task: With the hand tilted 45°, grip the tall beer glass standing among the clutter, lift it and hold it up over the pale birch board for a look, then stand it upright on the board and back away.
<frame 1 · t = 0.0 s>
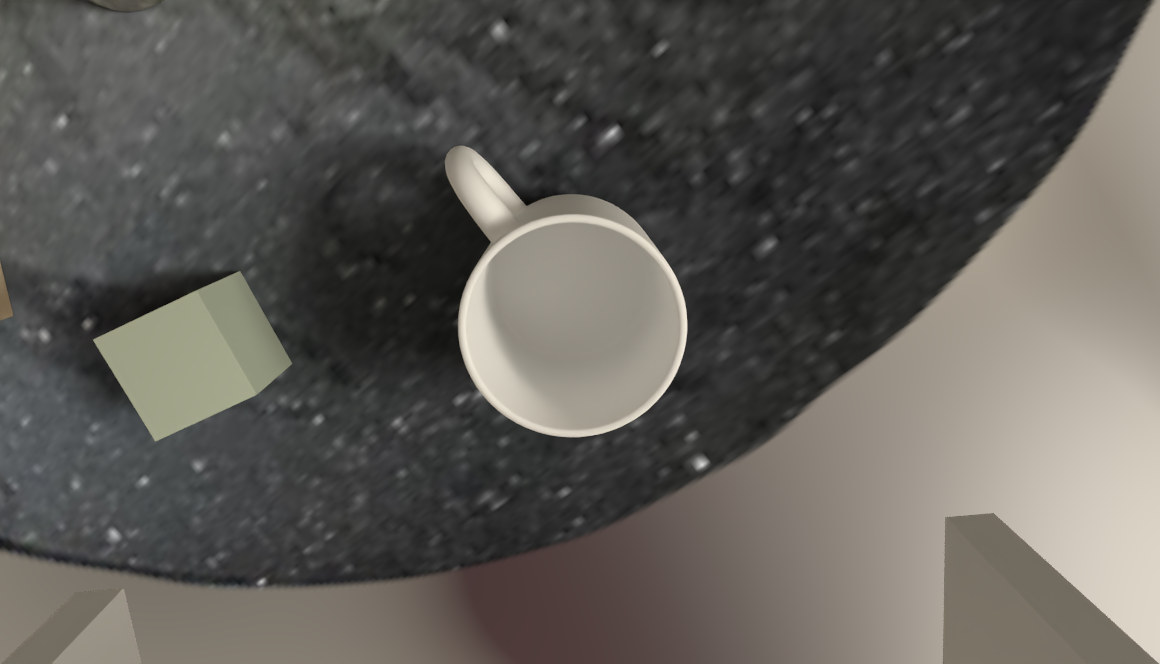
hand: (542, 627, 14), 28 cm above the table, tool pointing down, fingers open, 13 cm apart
cup: (547, 248, 41), on the table
sage block: (221, 339, 41), on the table
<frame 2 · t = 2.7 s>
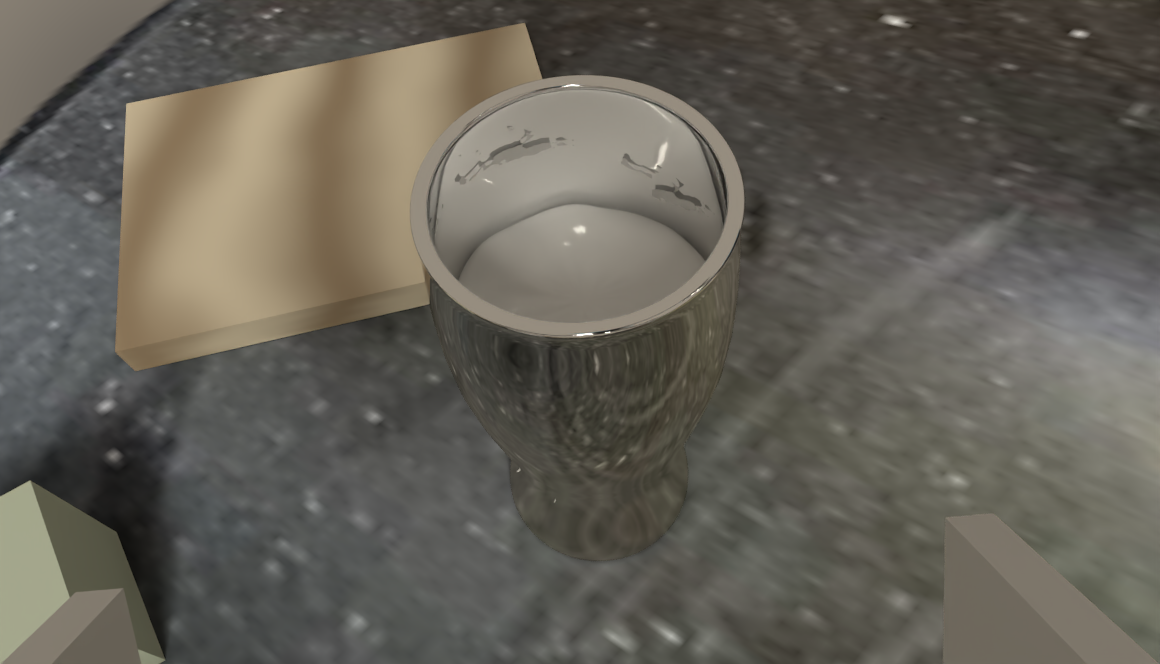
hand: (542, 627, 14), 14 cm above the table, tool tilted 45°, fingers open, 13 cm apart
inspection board: (353, 192, 37), on the table
sage block: (66, 638, 28), on the table
beer glass: (599, 477, 30), on the table
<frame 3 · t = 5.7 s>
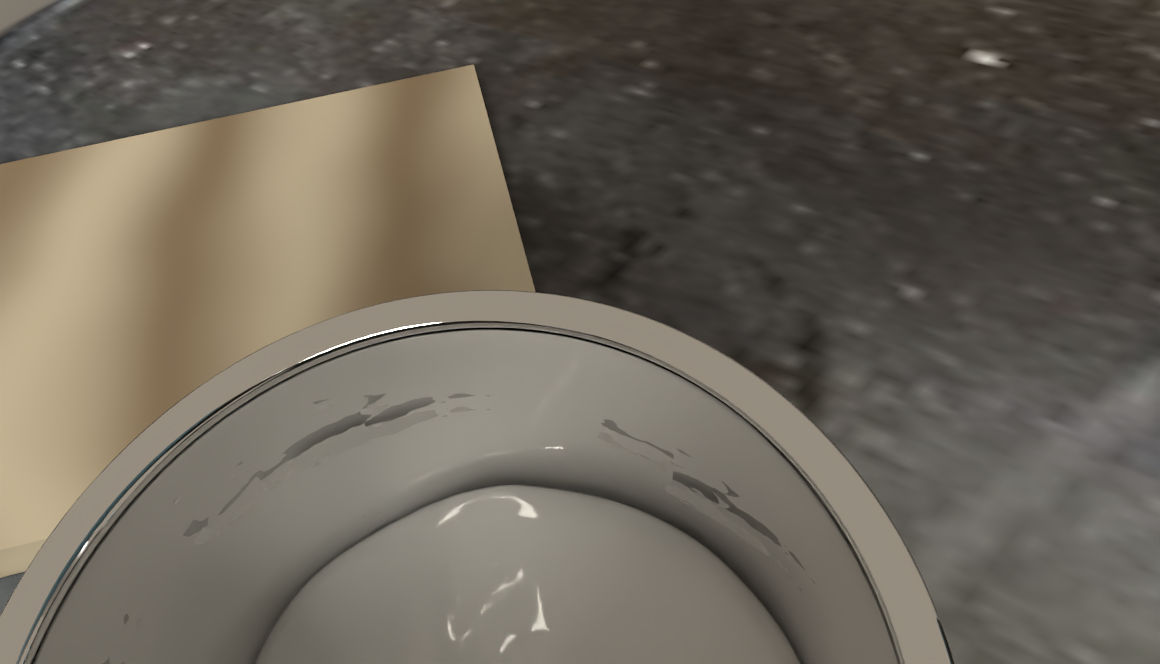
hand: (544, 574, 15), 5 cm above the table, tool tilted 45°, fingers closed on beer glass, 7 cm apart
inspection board: (222, 313, 25), on the table
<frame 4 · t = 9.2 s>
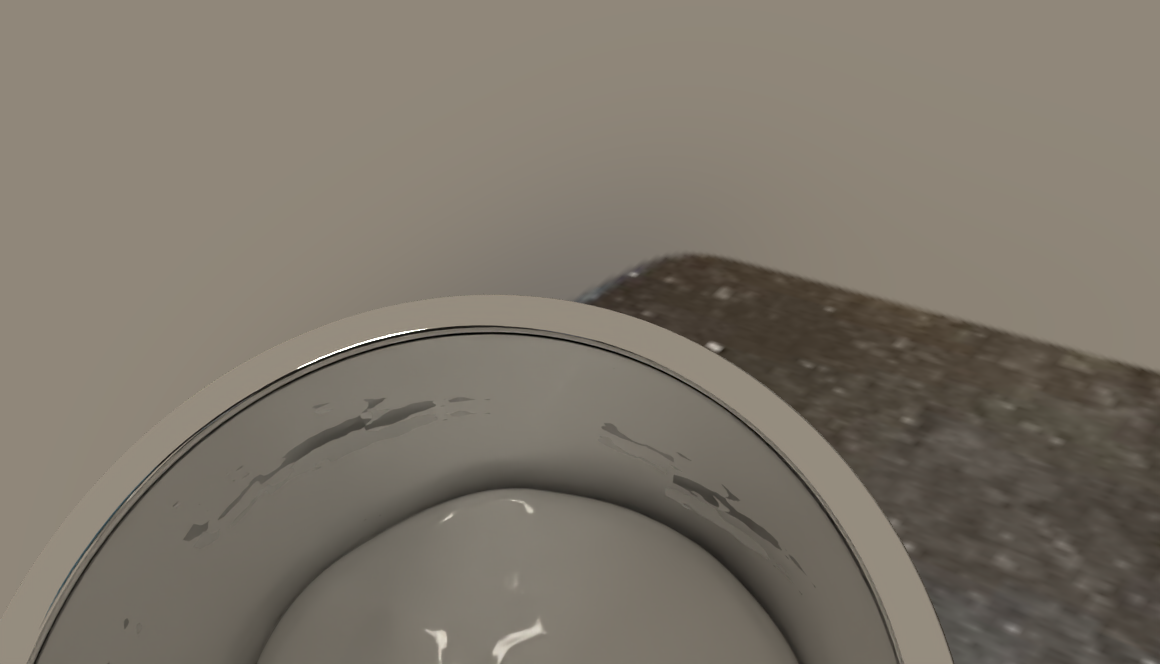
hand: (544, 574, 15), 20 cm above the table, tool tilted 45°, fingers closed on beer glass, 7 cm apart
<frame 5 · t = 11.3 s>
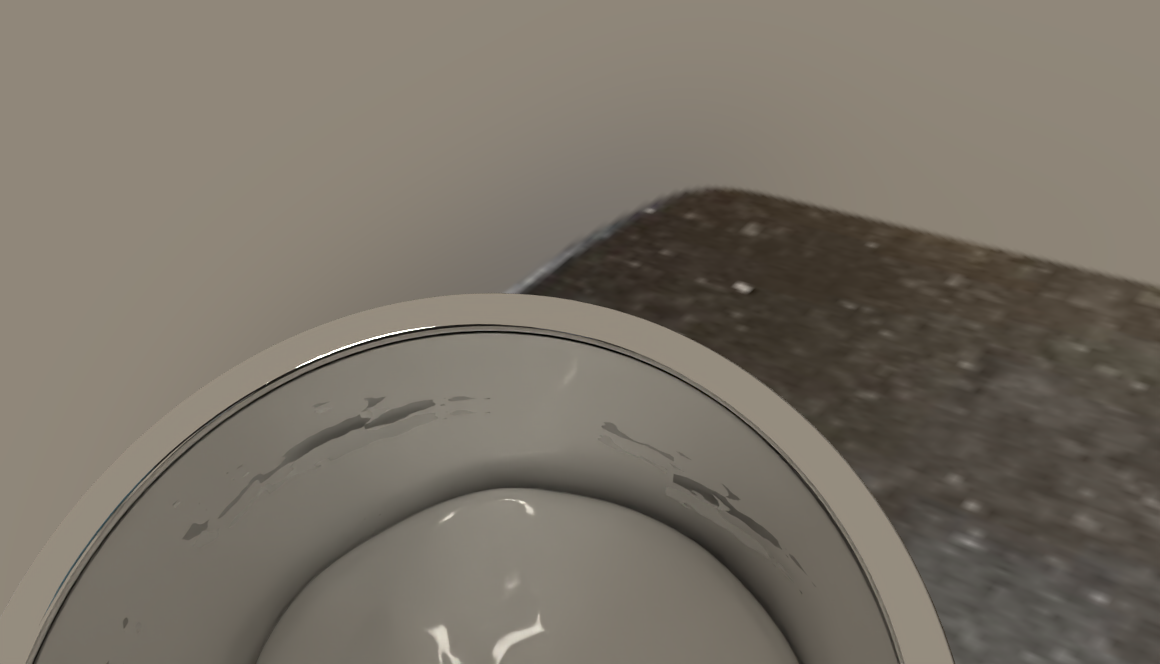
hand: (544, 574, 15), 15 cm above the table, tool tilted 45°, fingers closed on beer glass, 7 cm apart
when the fingers open (8 cm above the table, at t = 12.8 s): beer glass drops 1 cm, resting on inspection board.
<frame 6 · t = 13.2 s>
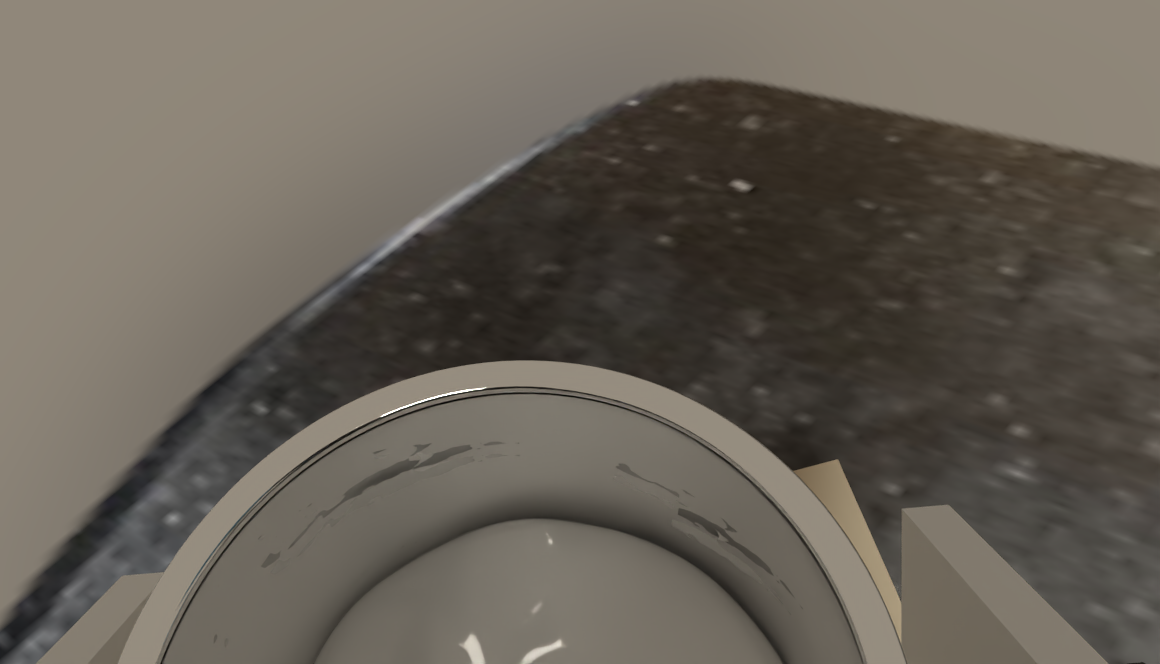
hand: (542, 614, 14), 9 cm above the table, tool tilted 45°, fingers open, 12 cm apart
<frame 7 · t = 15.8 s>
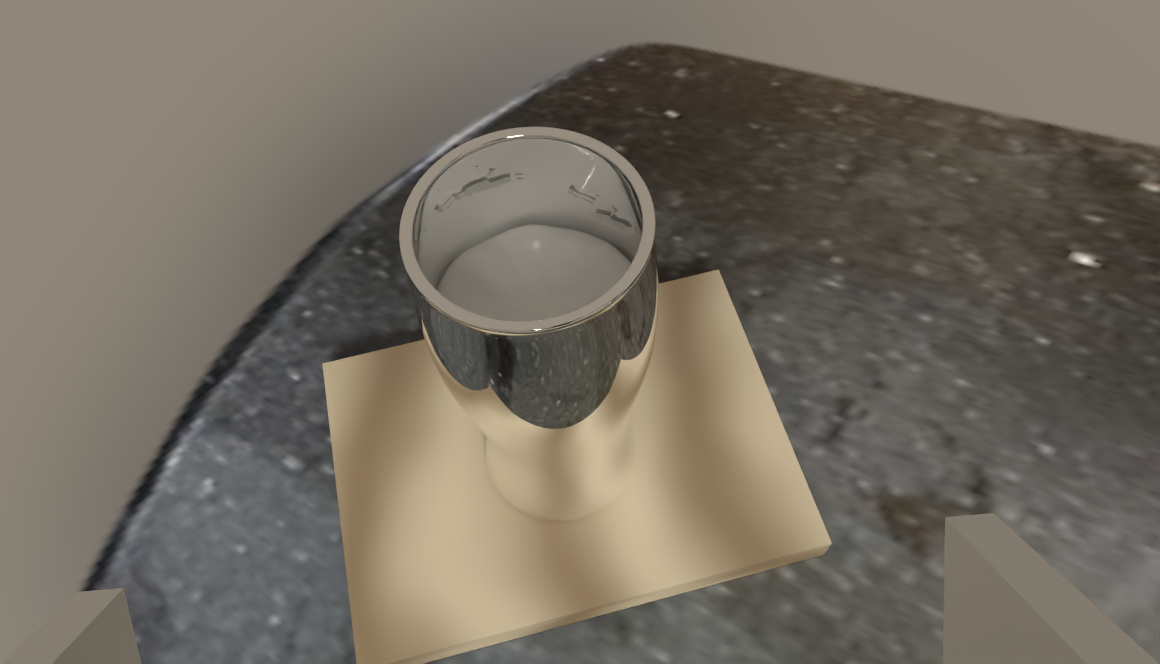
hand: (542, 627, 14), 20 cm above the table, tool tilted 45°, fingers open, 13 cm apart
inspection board: (561, 461, 36), on the table
beer glass: (561, 451, 35), point 1 cm above the table, touching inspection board
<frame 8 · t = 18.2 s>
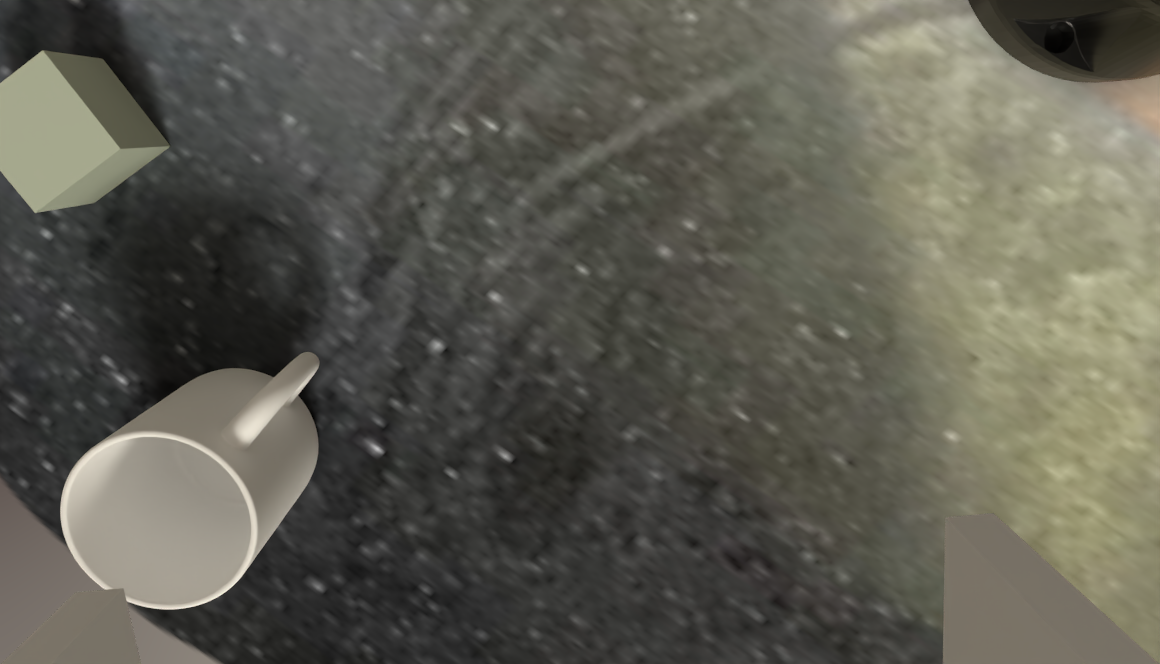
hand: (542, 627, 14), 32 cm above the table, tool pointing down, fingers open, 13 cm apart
cup: (267, 412, 46), on the table
sage block: (99, 132, 43), on the table
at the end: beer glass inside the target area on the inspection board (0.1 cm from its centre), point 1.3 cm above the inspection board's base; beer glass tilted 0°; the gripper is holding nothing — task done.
